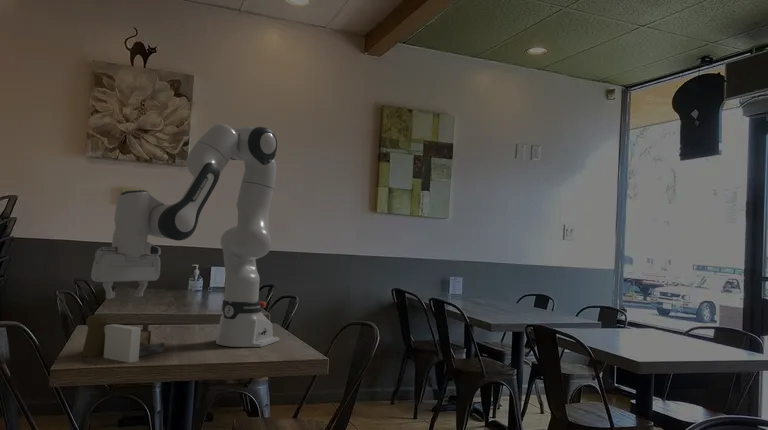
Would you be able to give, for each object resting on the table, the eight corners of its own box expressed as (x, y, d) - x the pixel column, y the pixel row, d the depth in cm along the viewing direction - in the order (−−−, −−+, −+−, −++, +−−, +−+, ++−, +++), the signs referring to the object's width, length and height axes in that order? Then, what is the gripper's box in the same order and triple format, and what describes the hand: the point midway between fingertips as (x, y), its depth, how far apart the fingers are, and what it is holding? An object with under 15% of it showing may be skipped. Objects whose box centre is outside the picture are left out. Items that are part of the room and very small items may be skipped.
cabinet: (128, 345, 176) (130, 321, 177) (163, 351, 170) (165, 326, 171) (94, 351, 166) (96, 325, 166) (130, 358, 159) (132, 330, 160)
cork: (96, 357, 158) (99, 317, 158) (76, 355, 159) (80, 315, 159) (110, 353, 163) (113, 315, 164) (92, 351, 165) (95, 313, 165)
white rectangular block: (103, 357, 158) (106, 325, 159) (115, 355, 162) (118, 323, 162) (129, 362, 154) (131, 329, 154) (141, 360, 157) (143, 327, 158)
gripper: (104, 247, 148) (99, 300, 147) (165, 249, 167) (161, 297, 166) (88, 245, 151) (83, 298, 150) (149, 248, 169) (145, 295, 168)
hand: (124, 297), depth 158 cm, fingers open, 8 cm apart
